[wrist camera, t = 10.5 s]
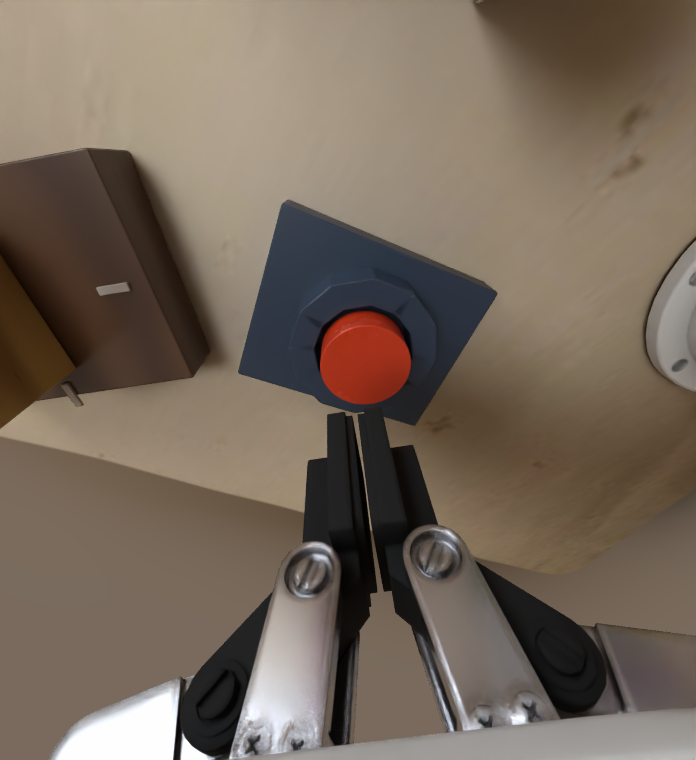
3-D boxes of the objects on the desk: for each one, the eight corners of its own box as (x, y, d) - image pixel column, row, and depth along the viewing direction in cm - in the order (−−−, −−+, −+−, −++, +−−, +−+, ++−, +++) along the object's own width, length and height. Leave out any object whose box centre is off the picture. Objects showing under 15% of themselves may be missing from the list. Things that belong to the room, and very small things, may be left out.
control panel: (122, 133, 15) (74, 126, 12) (214, 360, 21) (196, 389, 18) (-154, 186, 15) (-258, 190, 13) (12, 390, 21) (-35, 423, 19)
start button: (419, 327, 16) (427, 343, 15) (383, 393, 18) (388, 414, 16) (338, 297, 15) (339, 311, 14) (310, 370, 17) (308, 390, 16)
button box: (484, 281, 19) (517, 307, 15) (409, 407, 23) (422, 449, 20) (287, 198, 16) (274, 207, 13) (245, 356, 21) (227, 394, 17)
